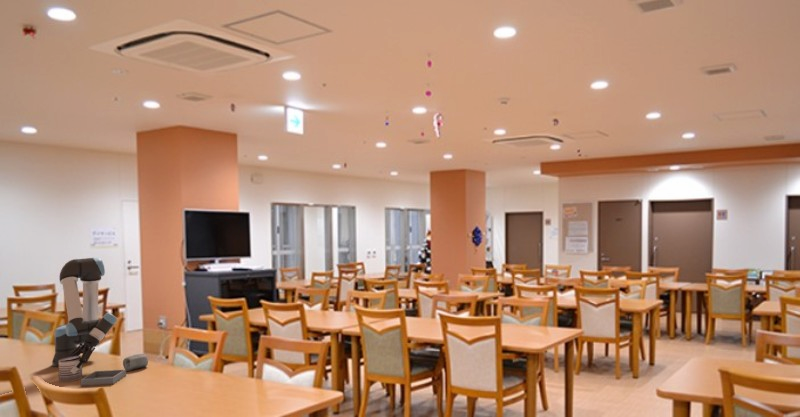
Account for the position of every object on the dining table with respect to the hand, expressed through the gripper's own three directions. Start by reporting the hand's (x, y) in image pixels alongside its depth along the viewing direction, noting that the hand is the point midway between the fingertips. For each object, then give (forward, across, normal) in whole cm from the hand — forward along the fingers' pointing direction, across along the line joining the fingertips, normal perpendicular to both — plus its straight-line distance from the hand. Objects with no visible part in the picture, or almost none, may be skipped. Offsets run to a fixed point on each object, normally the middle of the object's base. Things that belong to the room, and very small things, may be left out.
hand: (67, 371), depth 321 cm
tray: (-3, -22, -10) cm, 24 cm away
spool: (-19, -13, -26) cm, 35 cm away
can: (+2, 0, -5) cm, 5 cm away
